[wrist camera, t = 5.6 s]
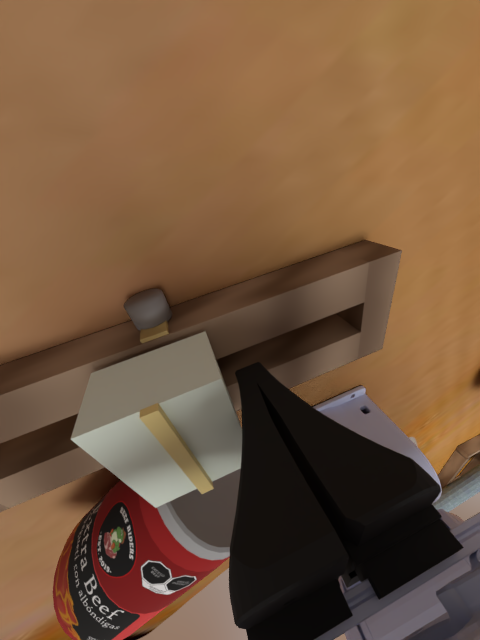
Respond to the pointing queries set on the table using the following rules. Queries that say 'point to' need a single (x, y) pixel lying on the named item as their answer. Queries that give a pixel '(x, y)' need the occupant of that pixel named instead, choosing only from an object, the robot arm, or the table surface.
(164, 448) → the rider
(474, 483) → the aluminum foil
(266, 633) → the robot arm
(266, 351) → the wooden slotted frame
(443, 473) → the foil cradle
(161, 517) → the canned food
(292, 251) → the table surface
